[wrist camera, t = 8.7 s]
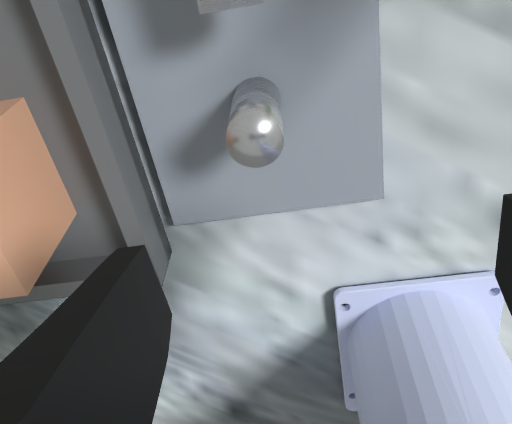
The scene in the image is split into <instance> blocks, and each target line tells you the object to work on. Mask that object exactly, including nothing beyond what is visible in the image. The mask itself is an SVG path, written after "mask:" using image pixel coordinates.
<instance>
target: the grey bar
mask: <svg viewBox="0 0 512 424" xmlns="http://www.w3.org/2000/svg"><path fill="white" fill-rule="evenodd" d="M262 3H264V0H197V5H198V9H199V14H205V13H211V12H217V11H222V10H228V9H233V8H239V7H245V6H250V5H256V4H262ZM225 143H226V148H227V151H228V153H229V154H230V156H231V157H232V158H233V159H234V160H235V161H236V162H238V163H239V164H241V165H243V166H246V167H251V168H259V167H264V166H267V165H269V164H271V163H272V162H274V161H275V160H276V159H277V158H278V157H279V155H280V154H281V152H282V149H283V145H284V135H283V119H282V102H281V94H280V91H279V89H278V88H277V86H276V85H275V84H274V83H273V82H271V81H270V80H268V79H266V78H263V77H251V78H248V79H246V80H244V81H242V82H241V83H240V84H239V85H238V86H237V87H236V89H235V91H234V94H233V99H232V104H231V110H230V116H229V121H228V127H227V132H226V139H225Z"/></svg>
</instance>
